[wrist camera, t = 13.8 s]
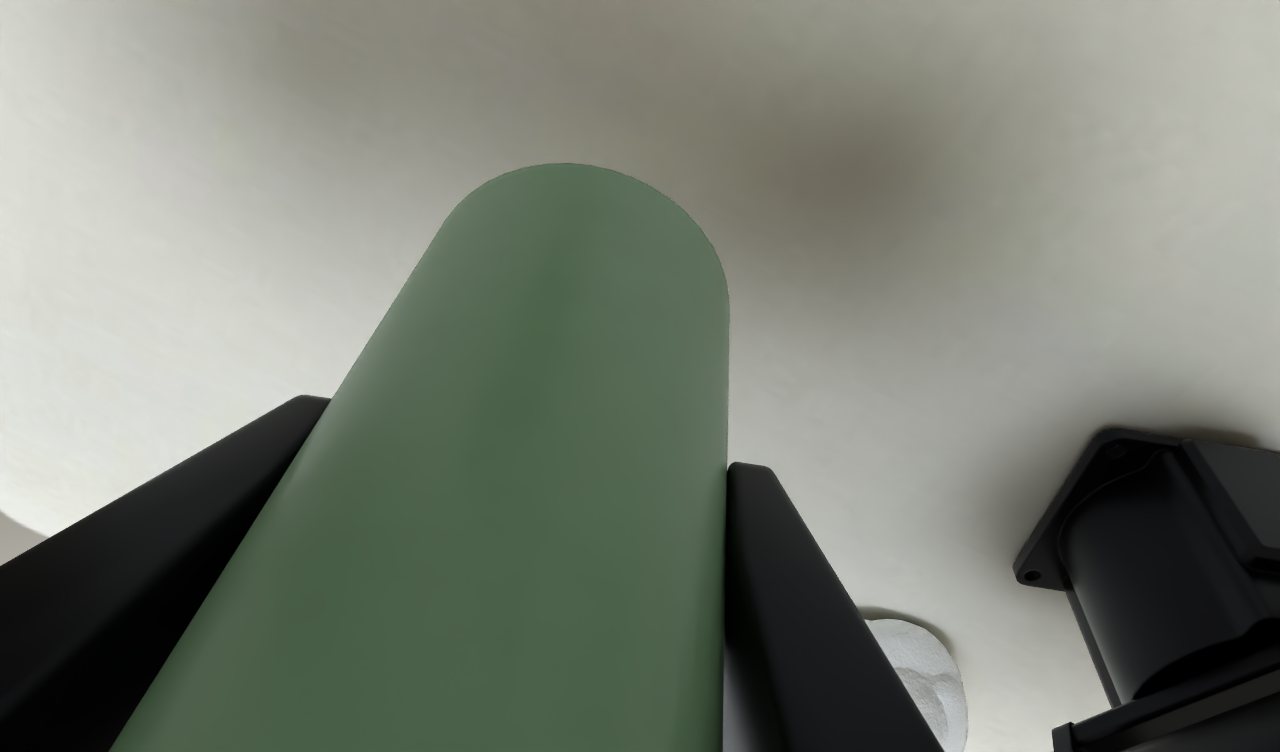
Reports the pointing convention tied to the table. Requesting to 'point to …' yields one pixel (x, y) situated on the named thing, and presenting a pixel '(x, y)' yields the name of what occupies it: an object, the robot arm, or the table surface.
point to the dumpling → (927, 678)
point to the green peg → (493, 506)
